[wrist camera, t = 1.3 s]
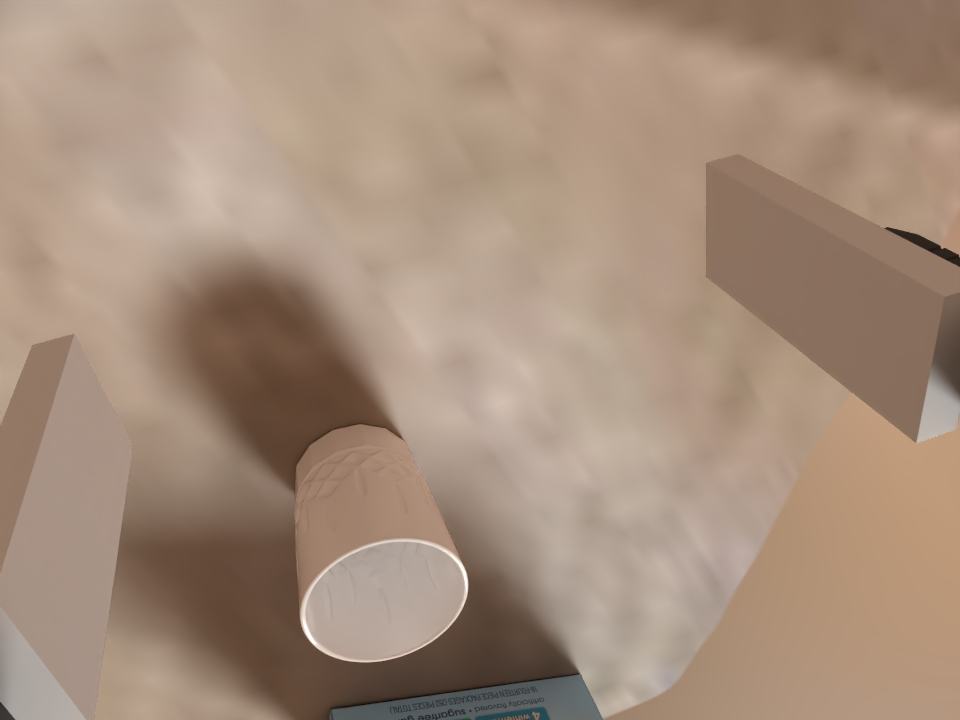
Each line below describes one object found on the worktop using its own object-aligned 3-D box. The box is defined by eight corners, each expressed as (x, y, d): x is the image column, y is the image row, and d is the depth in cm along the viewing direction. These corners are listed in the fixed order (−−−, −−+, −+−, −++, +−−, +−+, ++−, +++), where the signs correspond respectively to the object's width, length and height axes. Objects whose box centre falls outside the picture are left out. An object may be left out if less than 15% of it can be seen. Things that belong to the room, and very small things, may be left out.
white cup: (441, 426, 45) (493, 546, 37) (397, 532, 48) (435, 665, 40) (305, 403, 42) (328, 530, 33) (267, 518, 45) (280, 660, 36)
